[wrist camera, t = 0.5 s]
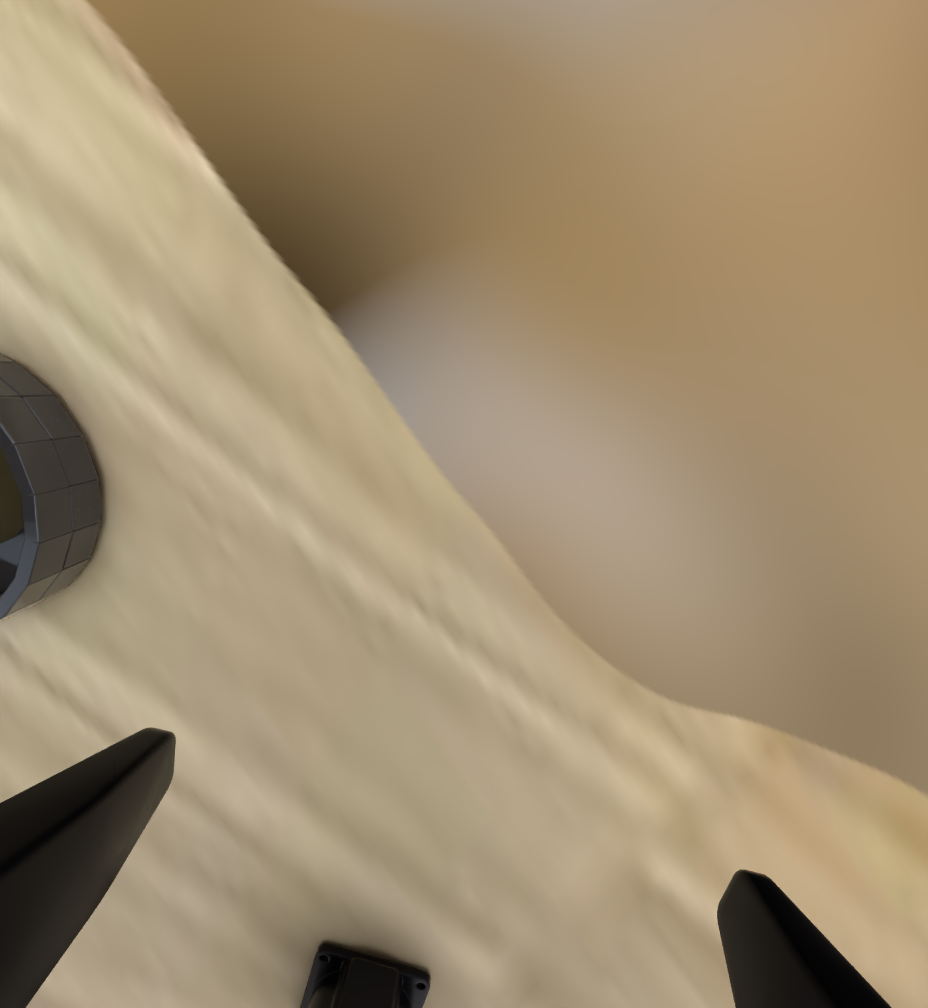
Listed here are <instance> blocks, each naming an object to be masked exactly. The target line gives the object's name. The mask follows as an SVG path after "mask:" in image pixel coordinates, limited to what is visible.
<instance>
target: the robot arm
mask: <svg viewBox="0 0 928 1008" xmlns="http://www.w3.org/2000/svg"><path fill="white" fill-rule="evenodd" d="M175 744H176V738H175V735H174V734H173V733H172V732H169V731H165V730H161V729H157V728H146V729H143V730H141V731H139V732H137V733H135V734H133V735H131V736H129V737H127V738H125V739H123V740H121V741H119V742H118V743H116V744H114V745H112V746H110V747H108V748H106V749H104V750H102V751H100V752H98V753H96V754H94V755H92V756H90V757H89V758H87V759H85V760H83V761H81V762H79V763H77V764H75V765H73V766H71V767H69V768H67V769H65V770H63V771H61V772H60V773H58V774H56V775H54V776H52V777H50V778H48V779H46V780H44V781H42V782H40V783H38V784H36V785H34V786H32V787H31V788H29V789H27V790H25V791H23V792H21V793H19V794H17V795H15V796H13V797H11V798H9V799H7V800H5V801H3V802H2V803H0V1008H26V1006H27V1005H28V1004H29V1002H30V1001H31V999H32V998H33V996H34V995H35V994H36V992H37V991H38V989H39V988H40V987H41V985H42V984H43V982H44V981H45V980H46V978H47V977H48V975H49V974H50V973H51V971H52V970H53V968H54V967H55V966H56V964H57V963H58V961H59V960H60V959H61V957H62V956H63V954H64V953H65V951H66V950H67V949H68V947H69V946H70V944H71V943H72V942H73V940H74V939H75V937H76V936H77V935H78V933H79V932H80V930H81V929H82V928H83V926H84V925H85V923H86V922H87V921H88V919H89V918H90V916H91V915H92V913H93V912H94V910H95V909H96V907H97V906H98V904H99V903H100V902H101V900H102V899H103V897H104V895H105V894H106V892H107V891H108V889H109V887H110V886H111V884H112V882H113V881H114V879H115V878H116V876H117V874H118V872H119V871H120V869H121V867H122V866H123V864H124V862H125V861H126V859H127V857H128V856H129V854H130V852H131V850H132V849H133V847H134V845H135V844H136V842H137V840H138V839H139V837H140V835H141V834H142V832H143V830H144V828H145V827H146V825H147V823H148V822H149V820H150V818H151V817H152V815H153V813H154V812H155V810H156V808H157V806H158V805H159V803H160V801H161V800H162V798H163V796H164V795H165V793H166V791H167V789H168V787H169V785H170V783H171V780H172V777H173V772H174V759H175ZM717 919H718V926H719V931H720V935H721V940H722V945H723V950H724V954H725V959H726V964H727V969H728V973H729V978H730V983H731V988H732V992H733V997H734V1002H735V1007H736V1008H891V1007H890V1005H889V1004H888V1003H887V1002H886V1001H885V1000H884V999H883V998H882V997H881V996H880V995H879V994H878V993H877V992H876V991H875V989H874V988H873V987H872V986H871V985H870V984H869V983H868V982H867V981H866V980H865V979H864V978H863V977H862V976H861V975H860V973H859V972H858V971H857V970H856V969H855V968H854V967H853V966H852V965H851V964H850V963H849V962H848V961H847V960H846V959H845V957H844V956H843V955H842V954H841V953H840V952H839V951H838V950H837V949H836V948H835V947H834V946H833V945H832V944H831V943H830V941H829V940H828V939H827V938H826V937H825V936H824V935H823V934H822V933H821V932H820V931H819V930H818V929H817V928H816V927H815V925H814V924H813V923H812V922H811V921H810V920H809V919H808V918H807V917H806V916H805V915H804V914H803V913H802V912H801V911H800V910H799V908H798V907H797V906H796V905H795V904H794V903H793V902H792V901H791V900H790V899H789V898H788V897H787V896H786V895H785V894H784V892H783V891H782V890H781V889H780V888H779V887H778V886H777V885H776V884H775V883H774V882H773V881H772V880H771V879H770V878H769V877H767V876H765V875H763V874H760V873H756V872H752V871H748V870H739V871H737V872H736V873H735V874H734V876H733V878H732V880H731V881H730V883H729V885H728V887H727V889H726V891H725V893H724V895H723V896H722V898H721V900H720V902H719V905H718V910H717ZM429 987H430V975H429V974H428V973H426V972H424V971H421V970H417V969H414V968H410V967H407V966H403V965H400V964H396V963H392V962H389V961H385V960H382V959H378V958H375V957H371V956H368V955H364V954H361V953H357V952H354V951H350V950H347V949H343V948H340V947H336V946H333V945H329V944H322V945H320V946H319V947H318V949H317V953H316V956H315V959H314V963H313V966H312V969H311V973H310V976H309V980H308V983H307V987H306V990H305V993H304V997H303V1000H302V1004H301V1007H300V1008H422V1007H423V1004H424V1002H425V999H426V996H427V994H428V991H429Z"/></svg>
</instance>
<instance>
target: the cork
mask: <svg viewBox="0 0 928 1008" xmlns="http://www.w3.org/2000/svg"><path fill="white" fill-rule="evenodd" d="M23 527H24V524H23V513H22V502H21V495H20V493H19V490H18V488H17V485H16V482H15V480H14V477H13V475H12V472H11V470H10V467H9V465H8V462H7V460H6V457H5V455H4V452H3V450H2V448H1V446H0V544H1V543H3V542H5V541H7V540H10V539H12V538H14V537H15V536H16V535H17V534H18V533H19V532H20V531H21V529H22V528H23Z"/></svg>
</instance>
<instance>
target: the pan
mask: <svg viewBox="0 0 928 1008" xmlns="http://www.w3.org/2000/svg"><path fill="white" fill-rule="evenodd" d="M0 446H1V448H2V450H3V452H4V455H5V457H6V460H7V462H8V465H9V467H10V470H11V472H12V475H13V477H14V480H15V482H16V485H17V488H18V490H19V493H20V495H21V502H22V513H23V524H24V527H23V528H22V529H21V531H20V532H19V533H18V534H17V535H16V536H15V537H14V538H12V539H10V540H7V541H5V542H3V543H1V544H0V622H2V621H4V620H6V619H8V618H10V617H12V616H14V615H16V614H18V613H20V612H22V611H25V610H27V609H29V608H31V607H33V606H35V605H37V604H39V603H41V602H42V601H44V600H46V599H48V598H49V597H51V596H53V595H55V594H56V593H58V592H60V591H61V590H63V589H65V588H66V587H67V586H69V585H70V584H71V583H72V581H73V580H74V579H75V577H76V576H77V575H78V574H79V572H80V571H81V570H82V569H83V567H84V566H85V565H86V563H87V562H88V561H89V560H90V556H91V554H92V550H93V547H94V544H95V540H96V537H97V533H98V530H99V527H100V521H101V509H100V490H99V480H97V479H98V475H97V472H96V469H95V467H94V464H93V461H92V458H91V455H90V453H89V450H88V447H87V444H86V442H85V439H84V437H83V436H82V433H81V432H80V430H79V429H78V427H77V426H76V424H75V423H74V422H73V420H72V419H71V417H70V416H69V414H68V413H67V412H66V410H65V409H64V407H63V406H62V404H61V403H60V402H59V400H58V399H57V397H56V396H54V394H53V393H52V392H51V391H50V390H49V389H47V388H46V387H45V386H44V385H43V384H42V383H40V382H39V381H38V380H37V379H36V378H35V377H33V376H32V375H31V374H30V373H29V372H27V371H26V370H25V369H24V368H23V367H22V366H20V365H19V364H18V363H16V362H15V361H12V360H10V359H8V358H6V357H4V356H2V355H0Z"/></svg>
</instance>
